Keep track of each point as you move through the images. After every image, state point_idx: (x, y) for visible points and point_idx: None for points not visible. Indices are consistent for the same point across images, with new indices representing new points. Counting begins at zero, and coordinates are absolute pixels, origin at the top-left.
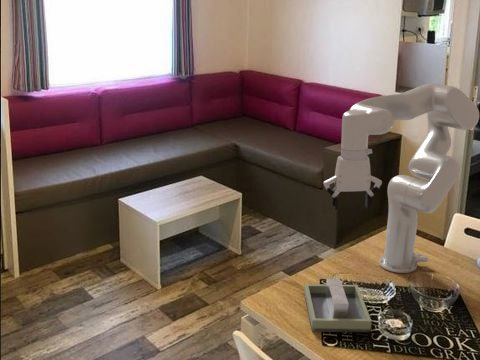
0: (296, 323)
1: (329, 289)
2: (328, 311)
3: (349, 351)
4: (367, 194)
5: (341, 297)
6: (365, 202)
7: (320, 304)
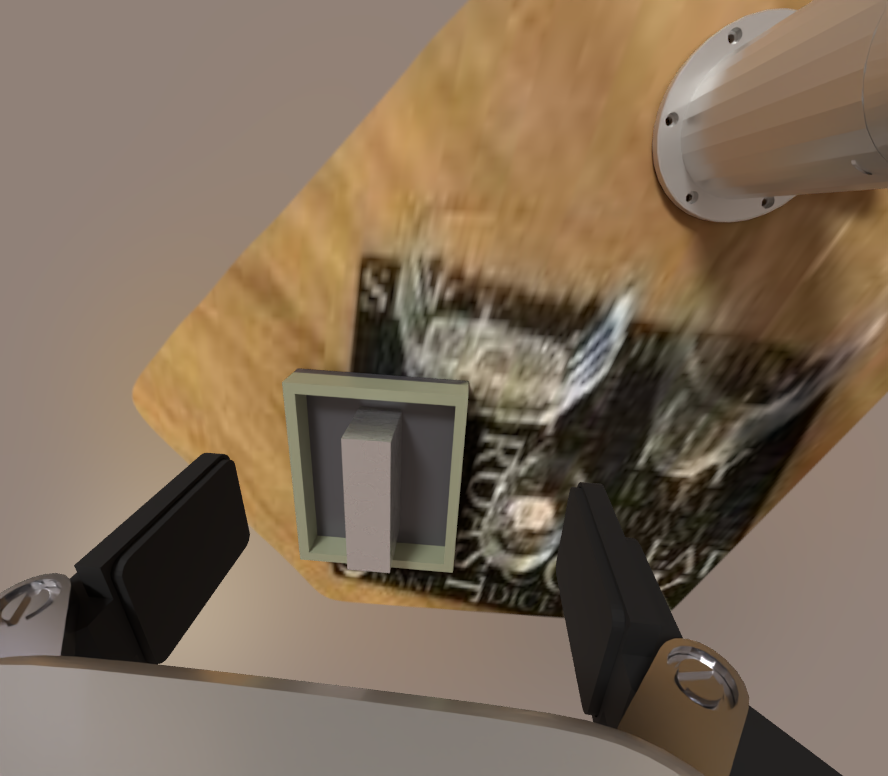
0: (276, 500)
1: (344, 496)
2: None
3: (389, 595)
4: (612, 698)
5: (374, 545)
6: (576, 529)
7: (339, 447)
